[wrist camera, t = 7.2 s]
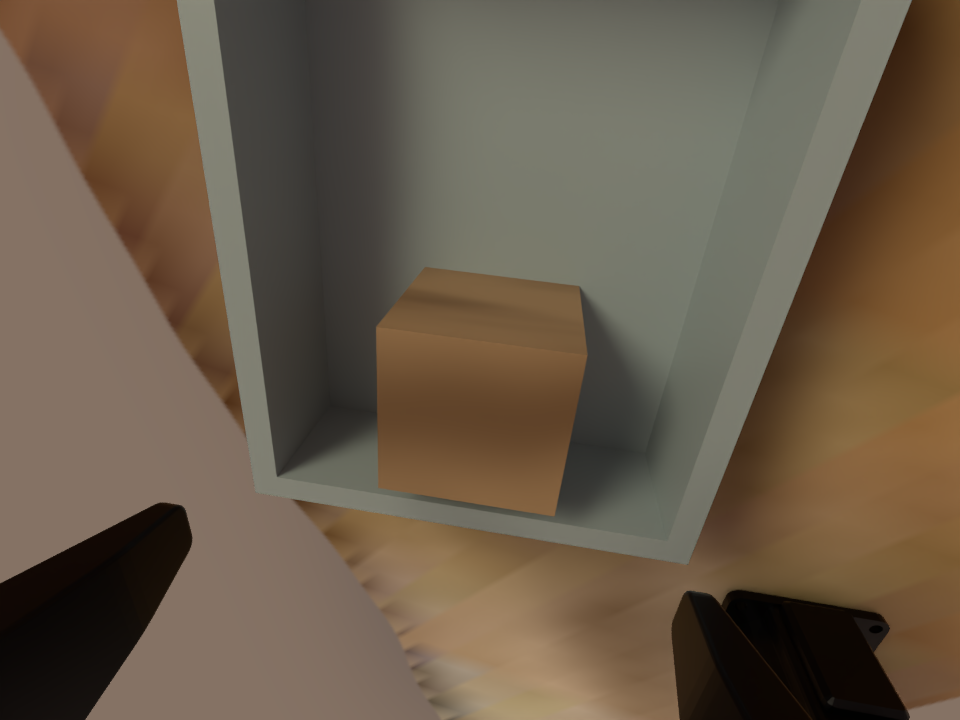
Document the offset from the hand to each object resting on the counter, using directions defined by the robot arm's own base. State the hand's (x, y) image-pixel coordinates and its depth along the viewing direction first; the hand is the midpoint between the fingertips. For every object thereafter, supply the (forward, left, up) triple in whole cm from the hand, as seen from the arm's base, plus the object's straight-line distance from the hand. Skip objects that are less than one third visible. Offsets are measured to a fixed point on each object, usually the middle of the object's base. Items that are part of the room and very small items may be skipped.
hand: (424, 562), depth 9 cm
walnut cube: (0, 0, -9) cm, 9 cm away
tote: (+4, 0, -10) cm, 11 cm away
